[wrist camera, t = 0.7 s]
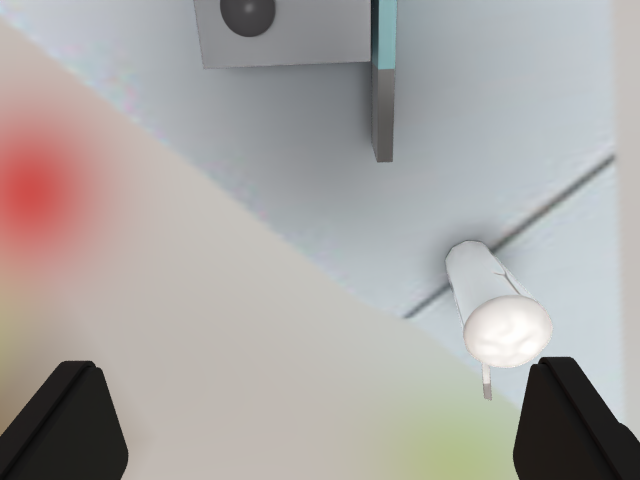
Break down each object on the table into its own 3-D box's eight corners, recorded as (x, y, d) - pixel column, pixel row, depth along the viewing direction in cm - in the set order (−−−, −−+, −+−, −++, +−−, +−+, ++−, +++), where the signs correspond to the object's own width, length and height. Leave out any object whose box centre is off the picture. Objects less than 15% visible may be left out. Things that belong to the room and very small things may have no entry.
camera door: (371, -135, 22) (378, -170, 18) (391, -137, 22) (403, -171, 18) (369, 142, 28) (375, 162, 24) (386, 141, 28) (394, 161, 24)
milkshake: (418, 284, 32) (449, 386, 23) (455, 221, 30) (505, 307, 21) (473, 305, 33) (524, 412, 24) (514, 245, 31) (587, 338, 22)
